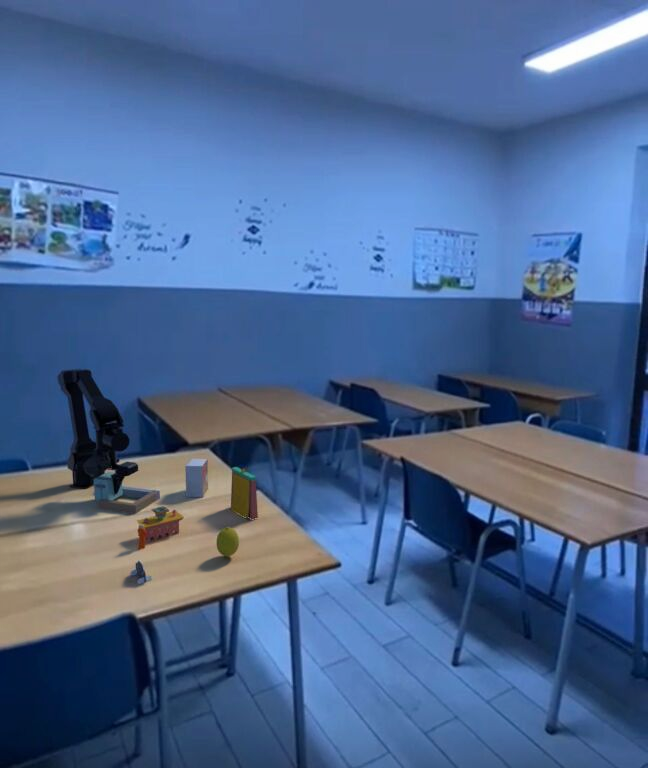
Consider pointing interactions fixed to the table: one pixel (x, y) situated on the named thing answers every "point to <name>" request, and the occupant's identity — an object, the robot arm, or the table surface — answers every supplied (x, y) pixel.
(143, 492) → the u-shaped bar frame
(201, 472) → the small box
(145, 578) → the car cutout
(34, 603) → the table surface
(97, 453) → the robot arm
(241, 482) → the toy shop counter set
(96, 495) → the blue block with grip
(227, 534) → the lemon
